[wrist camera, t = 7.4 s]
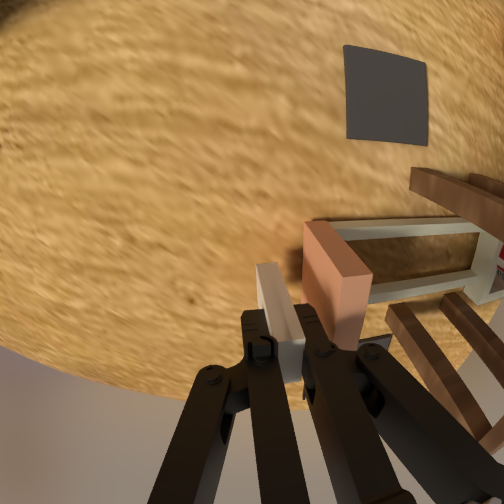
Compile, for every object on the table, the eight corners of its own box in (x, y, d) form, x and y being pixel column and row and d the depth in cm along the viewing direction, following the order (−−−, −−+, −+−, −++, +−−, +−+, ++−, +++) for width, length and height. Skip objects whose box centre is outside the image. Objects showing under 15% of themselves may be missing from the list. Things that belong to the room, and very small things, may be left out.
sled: (304, 197, 16) (346, 243, 10) (530, 202, 18) (574, 227, 12) (299, 320, 20) (322, 391, 14) (510, 279, 22) (546, 310, 16)
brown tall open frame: (411, 167, 16) (610, 276, 3) (480, 174, 17) (626, 256, 3) (384, 320, 22) (471, 469, 8) (450, 305, 22) (538, 416, 9)
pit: (343, 45, 13) (345, 44, 13) (421, 63, 13) (425, 62, 13) (346, 138, 16) (349, 138, 15) (423, 145, 16) (426, 146, 15)
